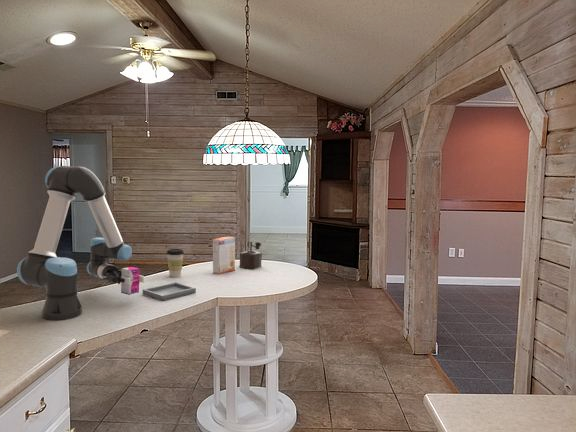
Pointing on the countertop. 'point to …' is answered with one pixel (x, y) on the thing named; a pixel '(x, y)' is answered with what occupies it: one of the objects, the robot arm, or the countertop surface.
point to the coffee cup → (175, 262)
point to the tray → (169, 291)
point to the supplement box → (134, 276)
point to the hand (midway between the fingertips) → (136, 280)
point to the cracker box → (223, 255)
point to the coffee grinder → (251, 257)
